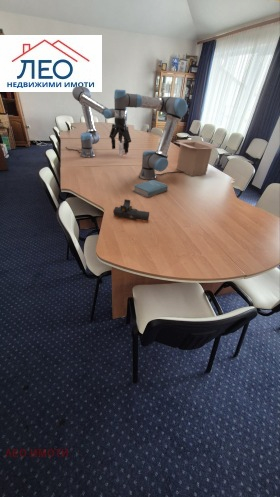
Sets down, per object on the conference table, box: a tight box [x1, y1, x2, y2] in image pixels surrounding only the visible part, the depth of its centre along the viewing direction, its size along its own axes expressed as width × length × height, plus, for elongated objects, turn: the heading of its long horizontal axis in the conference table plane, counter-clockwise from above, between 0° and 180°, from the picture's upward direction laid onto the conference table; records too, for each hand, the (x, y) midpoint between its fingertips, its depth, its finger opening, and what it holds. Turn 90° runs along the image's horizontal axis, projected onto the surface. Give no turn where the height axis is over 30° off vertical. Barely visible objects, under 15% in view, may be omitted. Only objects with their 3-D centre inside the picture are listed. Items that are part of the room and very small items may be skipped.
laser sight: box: [112, 199, 150, 222], centre depth 138 cm, size 10×22×10 cm, turn 78°
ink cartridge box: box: [118, 140, 128, 156], centre depth 246 cm, size 9×5×15 cm, turn 137°
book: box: [133, 179, 169, 198], centre depth 177 cm, size 23×16×5 cm
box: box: [174, 139, 220, 177], centre depth 220 cm, size 44×36×27 cm
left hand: (122, 148), depth 247 cm, fingers closed on ink cartridge box, 5 cm apart
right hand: (119, 150), depth 163 cm, fingers open, 13 cm apart
